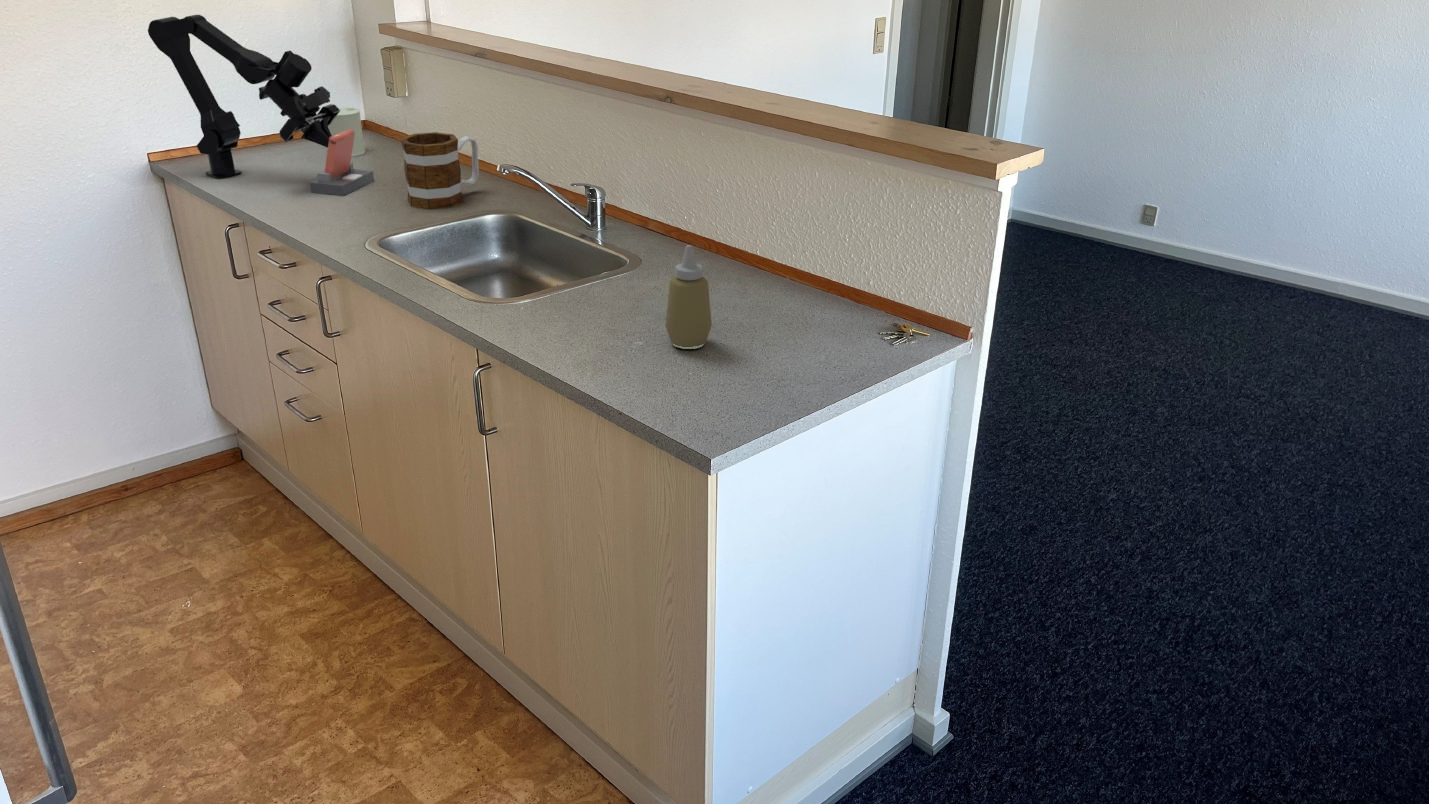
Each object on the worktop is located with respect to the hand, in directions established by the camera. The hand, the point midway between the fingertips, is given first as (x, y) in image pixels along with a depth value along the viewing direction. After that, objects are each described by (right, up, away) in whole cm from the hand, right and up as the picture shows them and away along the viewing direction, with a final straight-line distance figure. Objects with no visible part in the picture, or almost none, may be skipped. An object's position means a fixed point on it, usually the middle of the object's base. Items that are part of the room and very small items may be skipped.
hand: (335, 148), depth 261 cm
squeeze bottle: (+89, -53, -76) cm, 128 cm away
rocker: (-1, -6, +3) cm, 7 cm away
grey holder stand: (0, -8, +4) cm, 10 cm away
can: (-8, +6, +33) cm, 35 cm away
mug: (+28, -13, -3) cm, 31 cm away
